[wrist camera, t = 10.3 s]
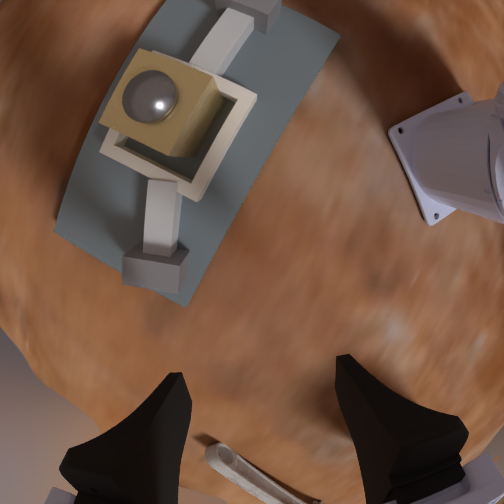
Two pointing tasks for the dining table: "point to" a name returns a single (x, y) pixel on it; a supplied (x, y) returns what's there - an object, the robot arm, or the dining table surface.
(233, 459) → the wrench
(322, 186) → the dining table surface
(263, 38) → the base
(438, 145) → the robot arm
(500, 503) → the amphora
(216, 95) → the block
